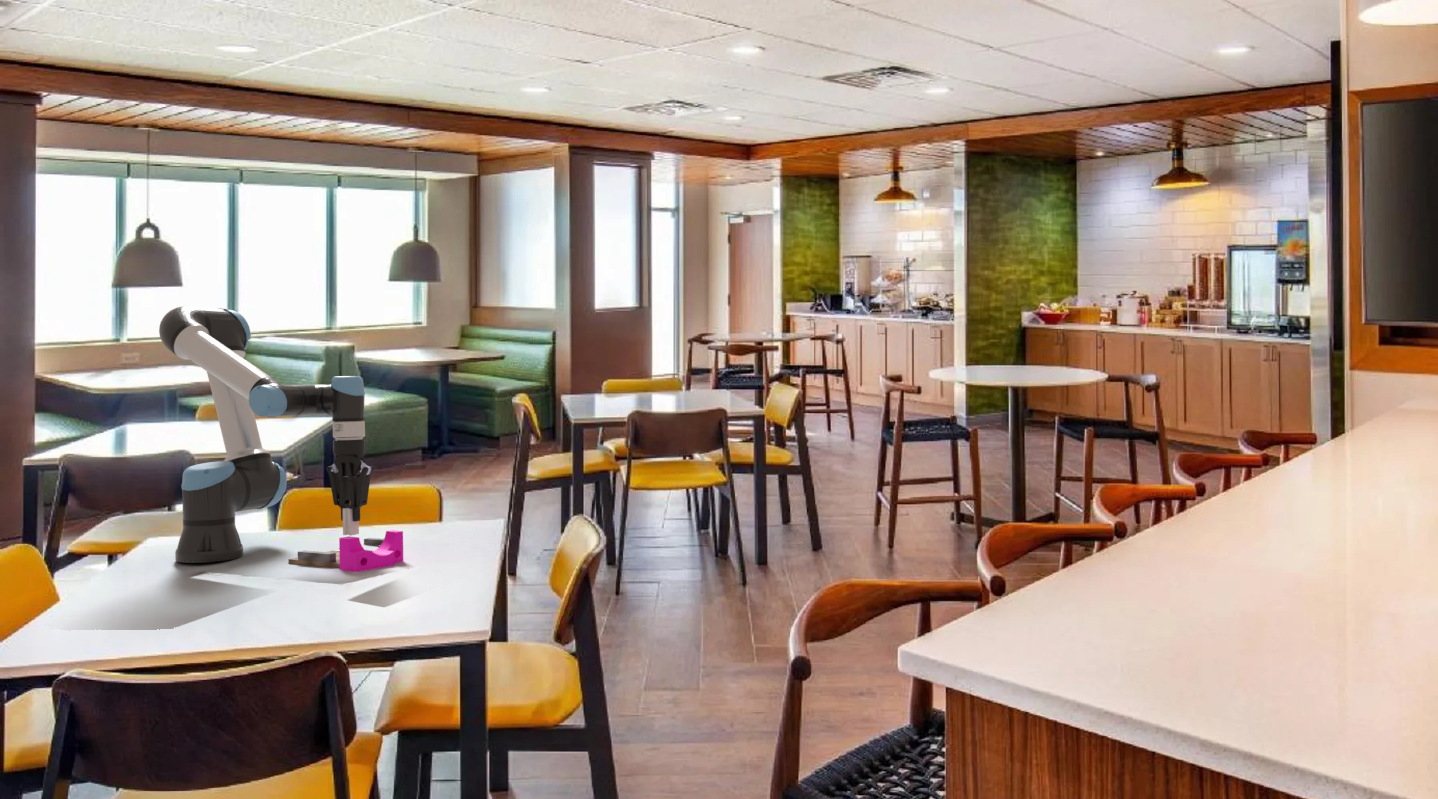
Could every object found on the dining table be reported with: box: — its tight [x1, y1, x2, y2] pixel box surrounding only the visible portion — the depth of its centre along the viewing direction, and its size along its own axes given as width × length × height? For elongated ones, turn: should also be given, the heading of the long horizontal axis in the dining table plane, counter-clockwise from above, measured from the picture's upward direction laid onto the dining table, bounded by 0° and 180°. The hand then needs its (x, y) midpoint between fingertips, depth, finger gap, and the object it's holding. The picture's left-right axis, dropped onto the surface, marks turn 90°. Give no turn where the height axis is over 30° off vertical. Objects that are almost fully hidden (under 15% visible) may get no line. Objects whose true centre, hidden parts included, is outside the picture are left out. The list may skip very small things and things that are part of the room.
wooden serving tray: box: [288, 537, 384, 569], centre depth 262 cm, size 16×24×3 cm, turn 156°
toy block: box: [338, 529, 404, 573], centre depth 250 cm, size 15×6×8 cm, turn 145°
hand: (350, 534), depth 262 cm, fingers closed
